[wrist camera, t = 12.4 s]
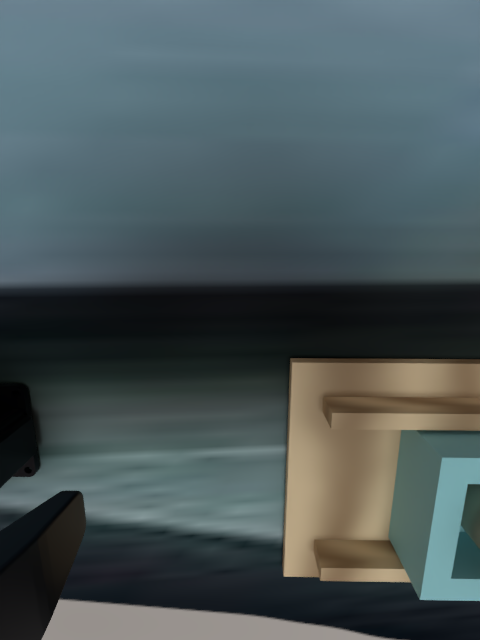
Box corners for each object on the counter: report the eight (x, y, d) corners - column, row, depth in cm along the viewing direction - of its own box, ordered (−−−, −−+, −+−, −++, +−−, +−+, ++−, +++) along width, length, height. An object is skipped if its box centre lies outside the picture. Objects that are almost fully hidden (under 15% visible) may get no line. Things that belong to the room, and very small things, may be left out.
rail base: (282, 565, 23) (288, 614, 20) (290, 358, 20) (298, 378, 17) (558, 569, 23) (607, 619, 20) (614, 360, 20) (684, 381, 16)
